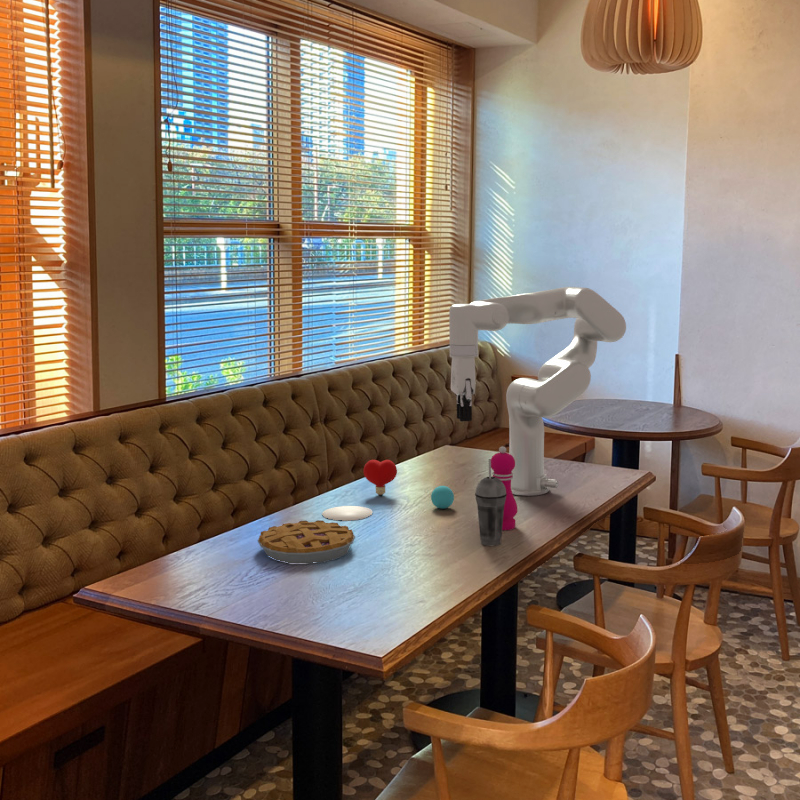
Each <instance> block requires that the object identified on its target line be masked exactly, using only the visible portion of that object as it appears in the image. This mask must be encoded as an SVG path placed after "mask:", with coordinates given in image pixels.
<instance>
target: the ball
mask: <svg viewBox="0 0 800 800" xmlns="http://www.w3.org/2000/svg"><path fill="white" fill-rule="evenodd" d="M430 500H431V503H432V504H433V505H434V506H435V507H436V508H438V509H441V510H445V509H447V508H449V507H451V506H452V504H453V502H454V501H455V494H454V492H453V490H452V489H451V488H450V487H448V486H446V485H439V486H436V487H435V488H434V489H433V490H432V492H431V493H430Z"/></svg>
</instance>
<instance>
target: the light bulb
mask: <svg viewBox="0 0 800 800" xmlns="http://www.w3.org/2000/svg"><path fill="white" fill-rule="evenodd" d="M397 474H398V469H397V465H396V464H395V463H394V462H393V461H392V460H390V459H385V460H382V461H379V460H377V459H371V460H368V461H367V462H366V463H365V464H364V467H363V476H364V478H365V479H366V480H367V481H368V482H369V483H371V484H373V485H374V486H375V494H377V495H378V496H379V497H380V496H381V497H382V496H383V495H384V494H385V493H386V485H387V484H389V483H391V482H392V481H393V480H394V479H395V478H396V477H397Z"/></svg>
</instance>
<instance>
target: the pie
mask: <svg viewBox="0 0 800 800" xmlns="http://www.w3.org/2000/svg"><path fill="white" fill-rule="evenodd" d="M258 536H259V538H258V539H257V543H258V545H259V547H260V548H262V550H264V552H265V555H266V556H267V555H268V556H270V557H272V558H274V559H276V560H280V561H285V562H288V563H312V564H314V563H313V562H321V563H325V562H324V561H326V562H329V561H328V560H330V561H333V560H332V559H334V560H337V559H336V558H338V559H340V558H342V557H344V556H346V555H347V554H348V552H349V549H350V547H351V545H352V544H354V542H355V539H356V535H355V534H354V531H353V530H352V529H349V526H347V525H339V523H338V522H333V521H332V522H325V520H323V519H322V520H318V519H317V520H315V521H311V522H310V521H307V520H299V522H293V523H292V522H287V523H282V524H281V525H278V526H276V525H273V526H269V527H268V529H267V530H263V531H260V535H258ZM345 554H346V555H345ZM343 555H344V556H343ZM268 556H267V557H268ZM341 556H342V557H341ZM339 557H340V558H339Z"/></svg>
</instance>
